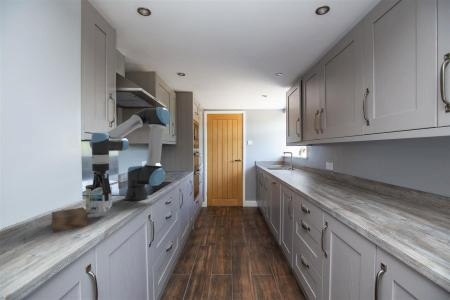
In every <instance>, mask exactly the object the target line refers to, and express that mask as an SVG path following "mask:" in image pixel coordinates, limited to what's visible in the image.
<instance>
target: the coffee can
mask: <svg viewBox="0 0 450 300" xmlns="http://www.w3.org/2000/svg"><path fill="white" fill-rule="evenodd" d="M92 186H93V183H92V184H88V185H86V186H85V210H86V212H87V213H90V191H92V190H93V188H92ZM100 187H101V185H100Z"/></svg>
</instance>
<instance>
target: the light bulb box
mask: <svg viewBox="0 0 450 300" xmlns="http://www.w3.org/2000/svg"><path fill="white" fill-rule="evenodd" d="M110 189H111V193H110V194H109V207H106V208H103V195H102V193H103V190H102V187H98V188H96V189H94V190H92V191H90V212H89V213H90V214H94V213H95V214H97V213H101V214H102V213H105V212H106V211H108V210H109V209H110V208H112V207H113V194H112V193H113V192H112V191H113V190H112V189H113V187H112V186H110Z"/></svg>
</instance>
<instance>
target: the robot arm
mask: <svg viewBox="0 0 450 300" xmlns="http://www.w3.org/2000/svg"><path fill="white" fill-rule="evenodd" d="M170 122H171V115H170V112H169V110H168V109H167V108H165V107H159V106H158V107H148V108H144V109H141V110H139V111H137V112H135V113H134V114H133V115H131V117H130V118H129V119H127V120H126V121H125V120H124V122H122V123H120V124H119V125H117V126H115V127H113V128H112V129H110V130H108V131H107V132H93V133H92V135H91V139H90V141H89V147H90V148H91V157H90V159H91V163H92V164H91V169H92V171H93V179H92V184H93V186H92V188H93V190H94V189H96V188H98V187H100V185H101V187H102V190H103V193H102V195H103V208H106V207H109V194H110V193H111V189H110V187H111V185H110V184H111V183H110V179H109V177H110V176H109V175H110V174H109V173H106V172H108V171H110V152H118V151H120V152H123V151H126V150H128V149H129V146H130V142H129V140H128V139H127V138H126V136H128V135H129V134H131V132H134V131H135V130H136V129H138V128H142V127H143V126H148V127H150V132H149V142H148V148H147V149H148V150H147V151H148V152H147V158H146V159H147V162H146V163H145V164H144V165H136V166H135V165H134V166H129V167H128V168H127V173H126V174H127V188H126V192H125V195H124V200H125V201H127V202H132V201H133V202H137V201H144V200H146V199H148V198H149V194H148V191H147V187H146V186H147V185H148V186H160V185H161V184H162V183H163V182H164V180H165V177H166V172H165V170H164V169H163V165H162V164H161V159H162V158H161V157H162V147H163V138H164V130H165V129H166V128H167V125H168V124H170Z"/></svg>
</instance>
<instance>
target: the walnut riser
mask: <svg viewBox="0 0 450 300" xmlns="http://www.w3.org/2000/svg"><path fill="white" fill-rule="evenodd" d="M51 226H52V232H53V233H58V232H62V231H68V230H73V229H77V228H81V227H82V228H84V227H87V226H88V212H86V208H84V207H83V206H82V207H77V208H70V209H65V210H56V211H52V212H51Z"/></svg>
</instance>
